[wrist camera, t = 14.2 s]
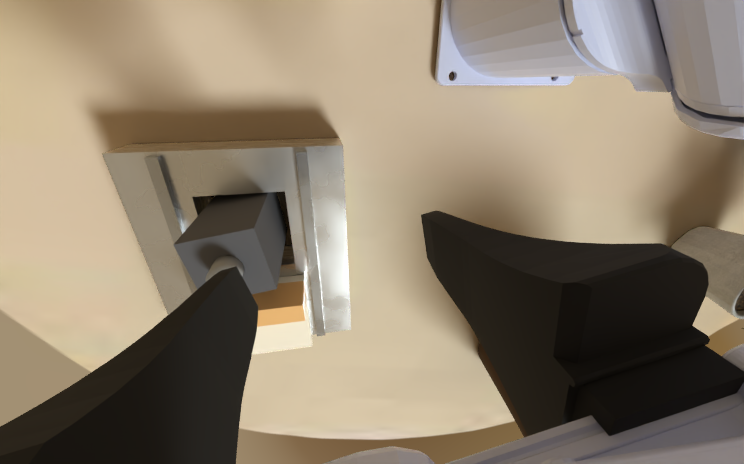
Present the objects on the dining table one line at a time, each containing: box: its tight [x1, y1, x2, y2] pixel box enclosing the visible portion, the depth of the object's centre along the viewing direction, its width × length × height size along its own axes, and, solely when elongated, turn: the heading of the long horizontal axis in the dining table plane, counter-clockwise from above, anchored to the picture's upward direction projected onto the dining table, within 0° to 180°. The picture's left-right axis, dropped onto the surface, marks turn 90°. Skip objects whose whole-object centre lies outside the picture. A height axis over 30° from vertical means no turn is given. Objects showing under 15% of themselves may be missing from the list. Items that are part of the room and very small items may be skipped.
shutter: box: [252, 275, 312, 355], centre depth 19 cm, size 6×6×3 cm
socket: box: [102, 138, 351, 336], centre depth 20 cm, size 12×14×3 cm
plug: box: [173, 192, 287, 294], centre depth 16 cm, size 4×4×8 cm
